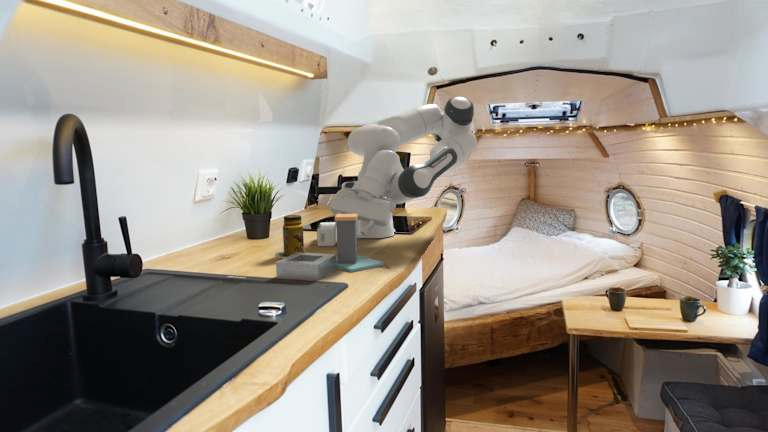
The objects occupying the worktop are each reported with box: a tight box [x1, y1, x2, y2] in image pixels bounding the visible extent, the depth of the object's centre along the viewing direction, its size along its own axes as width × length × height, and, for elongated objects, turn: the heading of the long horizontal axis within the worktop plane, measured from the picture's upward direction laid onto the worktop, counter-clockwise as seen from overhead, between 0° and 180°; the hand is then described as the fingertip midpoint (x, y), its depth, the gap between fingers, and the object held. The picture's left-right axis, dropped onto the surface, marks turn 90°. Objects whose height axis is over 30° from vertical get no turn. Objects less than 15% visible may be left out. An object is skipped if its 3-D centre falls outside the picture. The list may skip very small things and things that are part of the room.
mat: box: [336, 255, 385, 273], centre depth 141 cm, size 11×11×1 cm
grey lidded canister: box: [334, 214, 358, 264], centre depth 141 cm, size 6×6×13 cm
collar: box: [275, 252, 337, 281], centre depth 133 cm, size 12×12×4 cm
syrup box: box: [316, 221, 337, 247], centre depth 174 cm, size 6×6×14 cm
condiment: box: [275, 214, 305, 259], centre depth 154 cm, size 7×8×12 cm
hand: (350, 230), depth 155 cm, fingers open, 8 cm apart
